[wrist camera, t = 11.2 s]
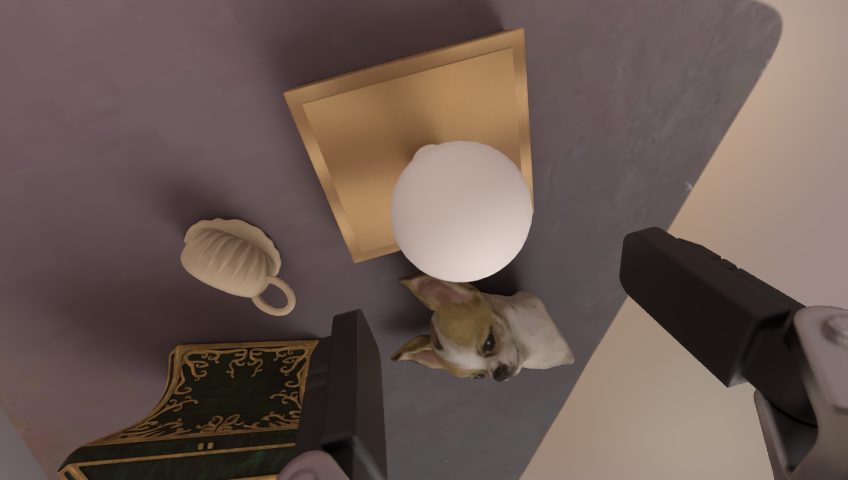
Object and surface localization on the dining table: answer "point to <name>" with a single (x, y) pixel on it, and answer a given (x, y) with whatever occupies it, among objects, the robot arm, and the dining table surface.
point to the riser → (409, 125)
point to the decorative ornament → (235, 260)
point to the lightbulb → (460, 211)
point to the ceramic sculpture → (483, 331)
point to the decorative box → (210, 418)
